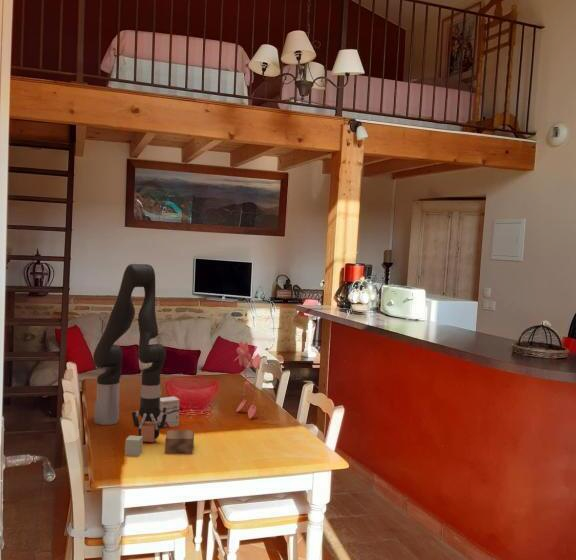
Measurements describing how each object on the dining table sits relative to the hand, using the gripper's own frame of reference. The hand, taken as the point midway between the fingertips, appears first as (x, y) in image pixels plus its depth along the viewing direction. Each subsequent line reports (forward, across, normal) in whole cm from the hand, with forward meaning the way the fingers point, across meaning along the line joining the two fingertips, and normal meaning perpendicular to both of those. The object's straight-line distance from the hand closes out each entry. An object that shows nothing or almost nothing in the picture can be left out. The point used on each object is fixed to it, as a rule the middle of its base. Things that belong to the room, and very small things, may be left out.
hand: (148, 437), depth 241 cm
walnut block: (+2, +14, -7) cm, 15 cm away
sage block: (+2, -2, -14) cm, 14 cm away
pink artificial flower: (+2, +31, +42) cm, 52 cm away
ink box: (+2, +2, +22) cm, 22 cm away
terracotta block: (+1, 0, 0) cm, 1 cm away
